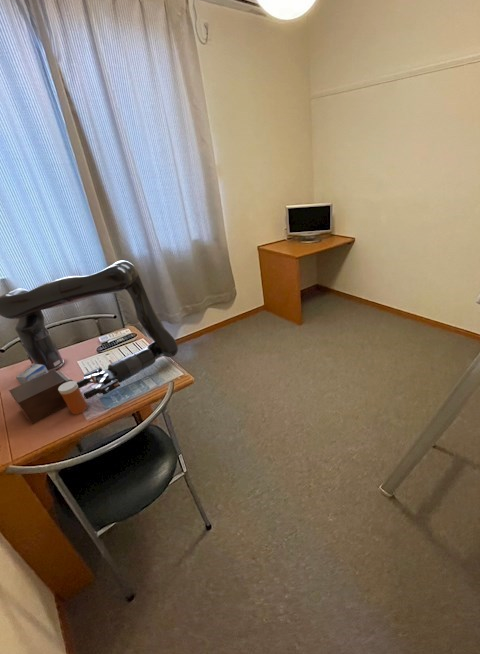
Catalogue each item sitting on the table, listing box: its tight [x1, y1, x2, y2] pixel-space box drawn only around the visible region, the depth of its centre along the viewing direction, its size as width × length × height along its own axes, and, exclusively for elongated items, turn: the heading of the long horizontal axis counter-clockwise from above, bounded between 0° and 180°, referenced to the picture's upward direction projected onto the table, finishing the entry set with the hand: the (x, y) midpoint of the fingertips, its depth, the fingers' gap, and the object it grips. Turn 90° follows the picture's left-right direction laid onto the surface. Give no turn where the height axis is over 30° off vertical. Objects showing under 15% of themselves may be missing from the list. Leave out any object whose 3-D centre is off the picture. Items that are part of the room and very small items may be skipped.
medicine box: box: [15, 364, 48, 385], centre depth 121 cm, size 8×4×9 cm, turn 168°
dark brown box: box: [8, 370, 68, 425], centre depth 112 cm, size 14×11×9 cm
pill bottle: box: [58, 380, 89, 415], centre depth 109 cm, size 5×5×10 cm
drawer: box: [56, 370, 74, 382], centre depth 114 cm, size 14×9×7 cm
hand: (79, 391), depth 110 cm, fingers open, 8 cm apart
